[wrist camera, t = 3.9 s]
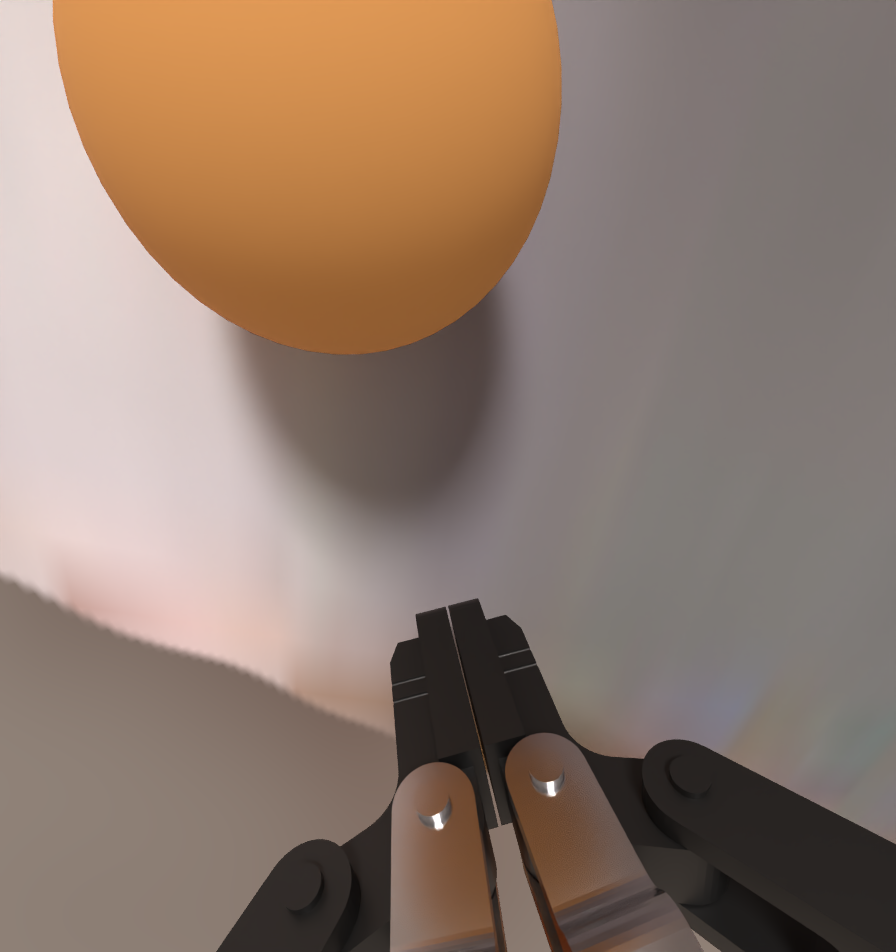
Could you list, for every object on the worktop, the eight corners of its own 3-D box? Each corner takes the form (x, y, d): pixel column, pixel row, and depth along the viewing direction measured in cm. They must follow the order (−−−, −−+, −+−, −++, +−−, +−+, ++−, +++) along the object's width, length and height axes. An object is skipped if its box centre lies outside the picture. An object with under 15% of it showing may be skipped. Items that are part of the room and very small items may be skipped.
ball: (106, -24, 7) (-460, -637, 2) (470, -76, 8) (682, -690, 3) (240, 350, 10) (114, 458, 5) (510, 295, 10) (658, 341, 5)
